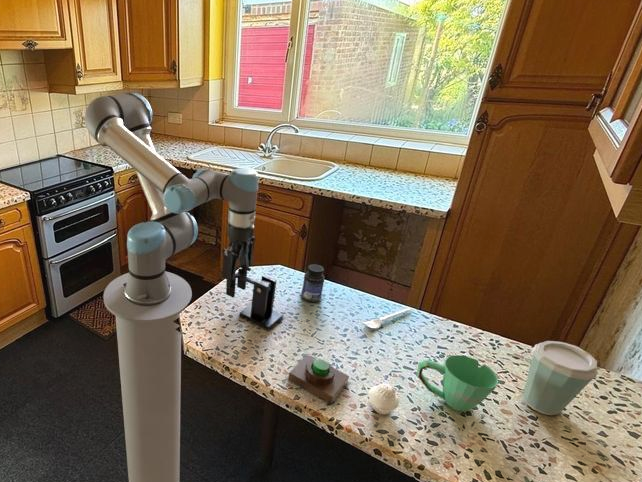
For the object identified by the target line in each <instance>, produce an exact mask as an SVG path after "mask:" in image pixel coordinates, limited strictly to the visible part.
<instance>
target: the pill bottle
mask: <svg viewBox="0 0 642 482" xmlns="http://www.w3.org/2000/svg"><path fill="white" fill-rule="evenodd" d="M324 270H325V268H324V267H323V266H322V265H319V264H313V263H312V264H309V265H308V267H307V271H306V272H305V273H304V277H303V281H302V287H301V293H300V294H301V295H300V296H301V297H302V299H303V300H305V301H307V302H310V303H318V302H319V301H321V299H322V294H323V289H324V284H325V279H326V278H325V275H324Z"/></svg>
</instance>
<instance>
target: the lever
mask: <svg viewBox="0 0 642 482" xmlns="http://www.w3.org/2000/svg"><path fill="white" fill-rule="evenodd" d="M242 274H243V272H242V271H239V272H238V271H237V272H236V273H235V277H234V278H236V279H237V280H238V279H240V280H243V281H246V283H249V284H252V285H254V281H256V280H257V279H254V278H251V277H248V276H247V277H246V276H243V275H242ZM259 282H261V283H263V284H266V285H268V286H269V291H270V290H271V283H270V282H268V281H265V280H262V281H261V280H260V281H259Z"/></svg>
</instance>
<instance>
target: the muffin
mask: <svg viewBox="0 0 642 482" xmlns="http://www.w3.org/2000/svg"><path fill="white" fill-rule="evenodd" d="M368 399H369V403H370V405H371V407H372V409H373V411H374V412H376V413H377V414H379V415H388V414H390V413H391V412H393V411H395V410H396V409H397V408H398V406H399V404H400V399H399V396H398V394H397V393H396V391H395V388H394V387H393V386H392V385H390V384H389V383H384V382H382V383H378V385H374V386H372V387H370V389H369V390H368Z"/></svg>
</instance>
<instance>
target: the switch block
mask: <svg viewBox="0 0 642 482" xmlns="http://www.w3.org/2000/svg"><path fill="white" fill-rule="evenodd" d="M317 359H318V358H316V357H314V356H312V355H310V354H308V353H306V354H305V356H303V357H302V359H300V361H299V362H297V364H296V365H295V366H294V367H293V368H292V369H291V370H290V371H289V374H288V381H291V382H293V383H294V384H296V385H298V386H299V387H301V388H303V389H304V390H306V391H308V392H310V393H311V394H313V395H315V396H316V397H318V398H320V399H322V400H323V401H325V402H327V403H329V404H330V405H332V404H333V403H334V401H335V400H336V399H337V397H338V396H339V394H341V392H342V390H343V389H344V388H345V387H346V385H347V384H348V381H349V377H350V375H348V374H346V373H344V372H342V371H340V370H339V369H337V368H334V367H333V365H332V364H331V363H330V362H328V361H326V362H327V363H328V364H329V370H328V373H327V374H326V375H318V374H317V373H315V372H314V371H313V369H312V367H313V362H314V361H315V360H317Z"/></svg>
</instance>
